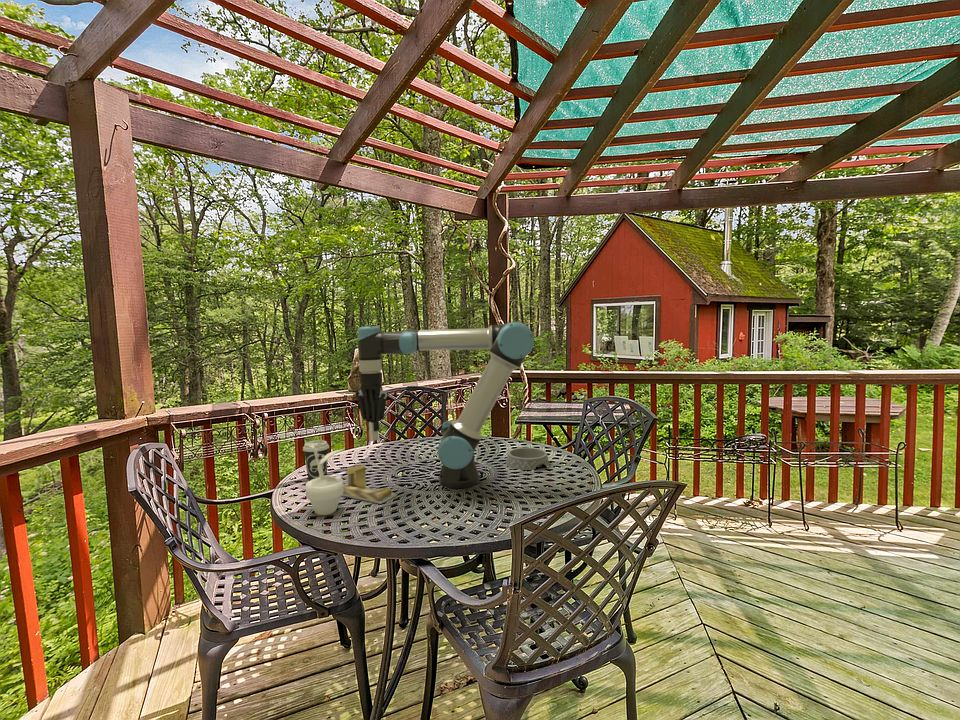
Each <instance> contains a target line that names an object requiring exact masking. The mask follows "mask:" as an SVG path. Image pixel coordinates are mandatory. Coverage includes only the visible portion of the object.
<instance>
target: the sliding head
mask: <svg viewBox="0 0 960 720" xmlns="http://www.w3.org/2000/svg"><path fill="white" fill-rule="evenodd" d="M366 474H367V473H366V466H362V465H358V464H357V465H354V466H352V467H349V468H347V469H346V477H347V478H346V481H347V486H352V487H357V488H362V489H364V488H367V476H366Z"/></svg>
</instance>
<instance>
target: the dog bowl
mask: <svg viewBox="0 0 960 720" xmlns="http://www.w3.org/2000/svg"><path fill="white" fill-rule="evenodd" d="M506 457H507V458H506V461H505V466H506V465H507V466H508V467H510V468H514V469H520V470H534V469H535V470H536V469H537V468H536V467H538V468H540V467H539V466H541V467H542V466H546V468H547V466H548V465H549V466H550V462H549V456H548V453H547V451H546V450H544V449H542V448H537V447H526V446H525V447H518V448H517V447H516V448H512V449H510V450H509V451H508V452H507V456H506ZM507 466H506V467H507ZM508 467H507V468H508ZM510 468H509V469H510ZM535 470H534V471H535Z"/></svg>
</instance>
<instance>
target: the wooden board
mask: <svg viewBox="0 0 960 720" xmlns="http://www.w3.org/2000/svg"><path fill="white" fill-rule="evenodd" d="M364 489H367V490H372V491H379V490H380V489H378V488H377V489H376V488H371V487H366V488H364ZM342 497H346V498H351V499H356V500H360V501H364V502H365V501H366V502H369V503H374V504H378V505H382V504H384V503H386V502H387V501H390V500H391V499H393V498H395V497H397V493H396V492H392V491H391V494H389V495H387V496H385V497H383V498H382V500H381V501H379V502H378V501H373V500H369V499H364V498H359V497H355V496H350V495H345V494H343V495H342Z"/></svg>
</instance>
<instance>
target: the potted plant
mask: <svg viewBox="0 0 960 720" xmlns="http://www.w3.org/2000/svg"><path fill="white" fill-rule="evenodd" d="M322 445H323V444H321V443H320V441H319V442H318V445H317V447H319V450H320V448H321V446H322ZM309 447H310V448H313V450H314V454H315V458H316V462H317V464H318V465H317V469H318V472H319V476H320V477H319V478H316V479H313V480H310V481H307V482H306V483H305V498H306V499H308V500H309V502H310V504H311V506H312V509H313V512H314V513H315V514H316V515H318V516H329V515H331V514H334V513H335V512H337V508H338V505H339V501H340V498H341V496H343V492H344V485H345V484H344V479H343V478H342V477H339V476H332V475H331V476H330V475H328V474H327V475H326V476H324V473H323V469H322V466H321V464H323V463H324V462H325V461H327V462H328V461H329V459H330V458H331V457H333V456H334V455H335V454H338V453H340V452H343V451H345V448H341V449H336V450H333V451H331V452H328V454H327V455H325V456H324V455H322V459H321V460H320V463H319V462H318V458H319V454H317V449H316V448H315V447H314V446H313V445H312V446H309ZM317 456H318V457H317Z"/></svg>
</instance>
